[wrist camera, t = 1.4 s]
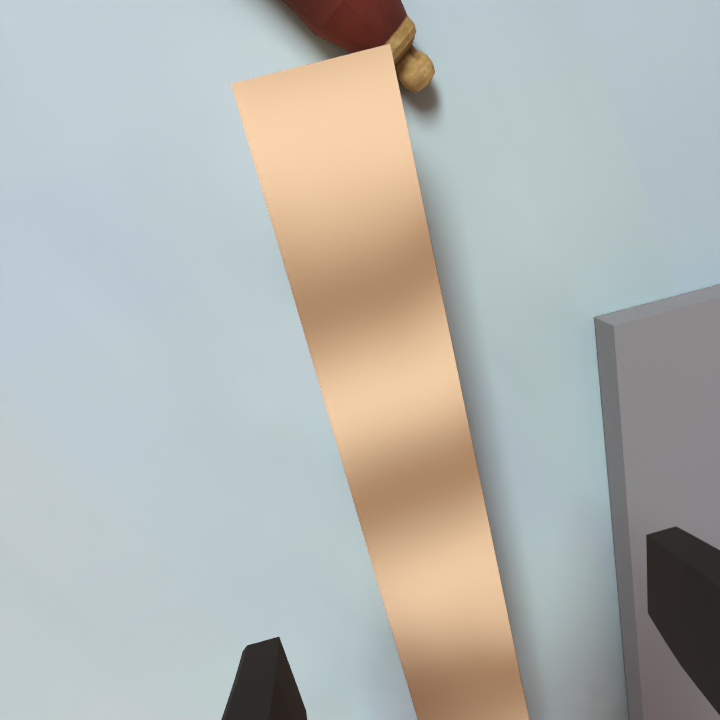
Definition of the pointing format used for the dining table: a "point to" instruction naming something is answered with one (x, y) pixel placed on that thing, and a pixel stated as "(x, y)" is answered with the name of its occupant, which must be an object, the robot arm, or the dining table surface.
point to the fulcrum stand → (660, 470)
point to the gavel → (369, 32)
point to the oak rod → (387, 369)
